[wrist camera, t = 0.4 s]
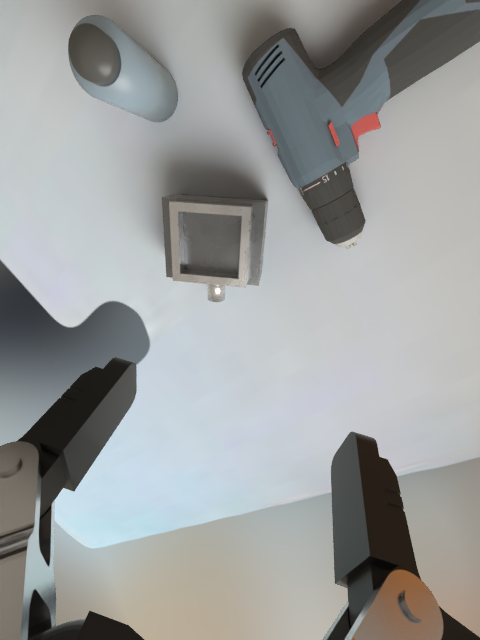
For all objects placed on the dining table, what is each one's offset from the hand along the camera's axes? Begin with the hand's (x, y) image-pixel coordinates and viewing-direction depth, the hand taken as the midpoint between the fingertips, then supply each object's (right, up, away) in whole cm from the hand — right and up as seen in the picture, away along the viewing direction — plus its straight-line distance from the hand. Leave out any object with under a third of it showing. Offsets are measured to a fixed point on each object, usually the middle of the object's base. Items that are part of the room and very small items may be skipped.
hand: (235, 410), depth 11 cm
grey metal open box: (-2, +12, +24) cm, 27 cm away
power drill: (+14, +23, +18) cm, 32 cm away
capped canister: (-8, +26, +19) cm, 33 cm away
